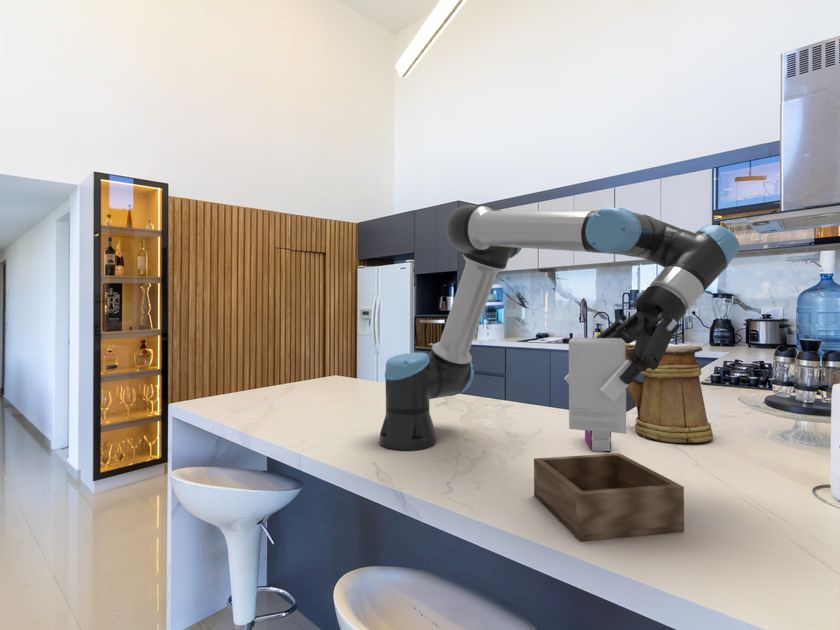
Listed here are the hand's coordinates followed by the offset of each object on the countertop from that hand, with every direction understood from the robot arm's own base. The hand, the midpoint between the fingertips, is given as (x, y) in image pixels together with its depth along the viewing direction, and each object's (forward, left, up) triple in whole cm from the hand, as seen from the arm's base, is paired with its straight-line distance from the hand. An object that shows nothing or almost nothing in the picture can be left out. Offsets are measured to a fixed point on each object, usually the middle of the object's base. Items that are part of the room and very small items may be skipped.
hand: (586, 389), depth 79 cm
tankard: (+18, +59, -21) cm, 66 cm away
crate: (+2, +1, -21) cm, 21 cm away
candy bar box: (+1, +42, -21) cm, 47 cm away
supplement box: (+2, +1, -7) cm, 7 cm away
